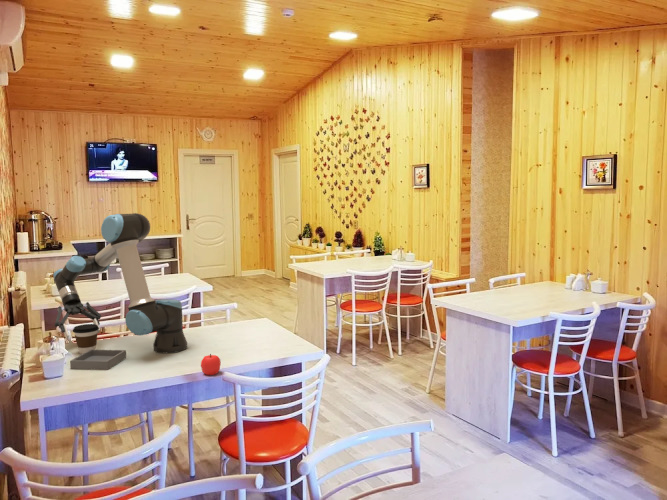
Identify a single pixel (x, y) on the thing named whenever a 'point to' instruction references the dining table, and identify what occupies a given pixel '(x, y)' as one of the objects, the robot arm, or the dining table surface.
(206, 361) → the apple
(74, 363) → the holder tray
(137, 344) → the dining table surface
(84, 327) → the coffee cup
